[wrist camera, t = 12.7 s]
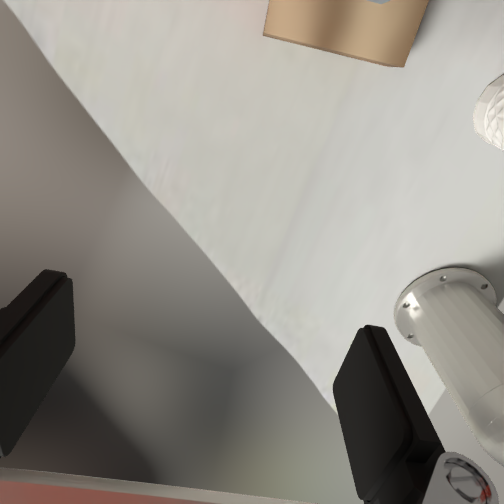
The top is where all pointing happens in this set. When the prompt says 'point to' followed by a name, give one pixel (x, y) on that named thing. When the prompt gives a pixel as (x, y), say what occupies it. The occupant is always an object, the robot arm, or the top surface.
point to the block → (379, 1)
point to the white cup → (491, 114)
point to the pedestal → (349, 27)
